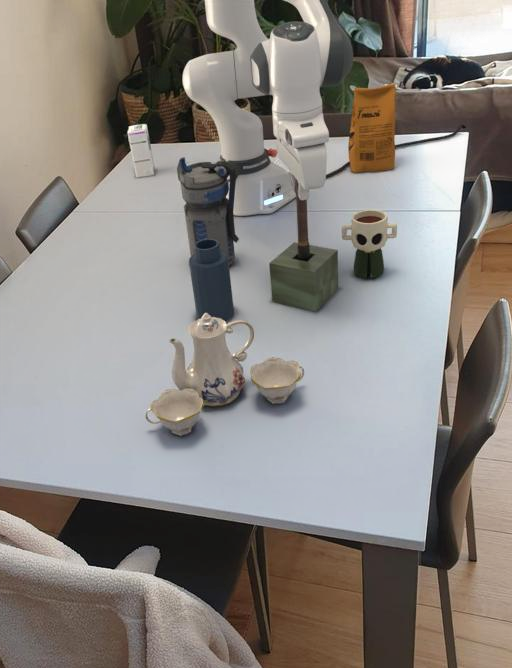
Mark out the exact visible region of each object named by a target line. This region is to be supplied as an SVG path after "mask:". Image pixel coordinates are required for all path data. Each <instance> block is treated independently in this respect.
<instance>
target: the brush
mask: <svg viewBox="0 0 512 668" xmlns="http://www.w3.org/2000/svg"><path fill="white" fill-rule="evenodd" d="M295 188H296V197H295V205H296V206H295V207H296V226H297V242H296V243H297V249H298V260H301V261H306V262H307V261H308V260H310V245H311V243H310V240H309V222H308V221H309V219H308V199H306V200H300V199H299V197H298V192H297V189H299V183H298V180H297V179H296V178H295Z"/></svg>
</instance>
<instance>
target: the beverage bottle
mask: <svg viewBox="0 0 512 668" xmlns="http://www.w3.org/2000/svg"><path fill="white" fill-rule="evenodd" d="M176 172H177V179H178V181H179V182H180V189H181V197H182V199H183V201H184V202H185V204H184V205H183V212H184V217H185V218H184V219H185V226H186V234H187V239H188V247H189V254H190V257H191V256H192V255H193V254H195V250H194V245H195V243H196V242H198V241H200V240H203V239H215V240H218V242H219V246H220V250H222V251H224V252H226V253H227V255H228V261H229V267H230V266H231V265H232V264H233V262H234V260H235V258H236V253H235V243H236V244H237V243H238V242H239V239H240V238H239V237H238V235H236V228H235V227H236V226H235V215H233V209H234V197H235V185H236V170H235V167H234V166H233V165H232V164H230V163H229V162H224V161H220V160H218V161H217V162H215V163H212V161H201V162H195V163H191V164H189V165H187V163H186V157H184V156H183V157H181V158H179V160H178V162H177V167H176ZM229 175H230V187H229V184H228V179H227V178H228V176H229ZM228 191H229V200H228V199H227V198H226V196H227V194H228Z"/></svg>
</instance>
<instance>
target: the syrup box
mask: <svg viewBox="0 0 512 668" xmlns="http://www.w3.org/2000/svg"><path fill="white" fill-rule="evenodd" d="M126 132H127V137H128V142H129V143H128V144H129V148H130V154H131V158H132V163H133V167H134V168H133V169H134V173H135V177H136V178H145V177H151V176H155V169H156V168H155V162H154V157H153V150H152V145H151V140H150V135H149V130H148V125H147V123H139V124H134V125H130V126H128V129H127V131H126Z"/></svg>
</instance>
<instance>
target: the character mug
mask: <svg viewBox="0 0 512 668" xmlns="http://www.w3.org/2000/svg"><path fill="white" fill-rule="evenodd" d="M350 219H351V220H350V224H345V225H342V226H341V239H342V240H344V241H351V243H352V245H353V248H355V249H356V250H355V255H354V261H353V269H352V270H353V273H354V275H355V276H357V277H359V278H364V279H365V278H367V276H368V274H370V278H375V277H376V278H377V277H379V276H380V275H382V274H383V273H384V271H385V264H384V256H383V249H382V248H384V247H385V246H386V243H387V241H388V239H395V238H397V235H398V224H397V223H395V222H392V223H391V222H388V220H389V219H388V214H387V213H386V212H385V211H382V210H380V209H363V210H362V209H361V210H360V211H356V212H355V213H353V214H352V216H351V218H350ZM388 229H391V233H388ZM348 231H350V235H348V233H347V232H348Z"/></svg>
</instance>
